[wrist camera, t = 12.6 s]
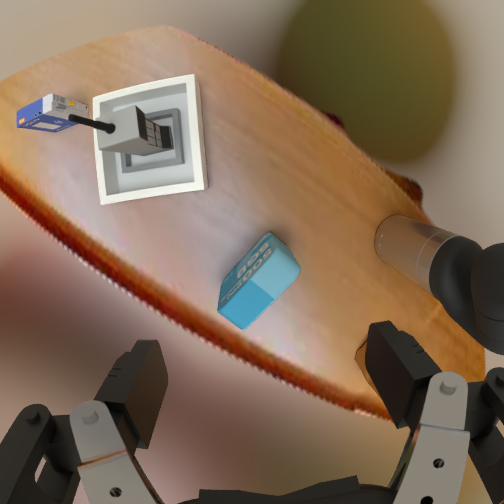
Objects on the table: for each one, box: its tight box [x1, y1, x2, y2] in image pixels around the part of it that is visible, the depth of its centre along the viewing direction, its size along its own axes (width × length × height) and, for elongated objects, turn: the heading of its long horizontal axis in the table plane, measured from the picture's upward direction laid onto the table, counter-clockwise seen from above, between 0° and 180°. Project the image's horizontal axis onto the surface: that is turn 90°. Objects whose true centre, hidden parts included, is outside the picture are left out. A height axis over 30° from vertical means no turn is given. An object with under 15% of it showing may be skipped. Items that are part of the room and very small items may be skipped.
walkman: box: [17, 94, 89, 132], centre depth 35 cm, size 8×3×12 cm, turn 97°
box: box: [93, 74, 209, 205], centre depth 40 cm, size 16×17×6 cm
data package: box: [217, 232, 301, 330], centre depth 43 cm, size 12×4×12 cm, turn 138°
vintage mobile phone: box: [68, 105, 174, 156], centre depth 30 cm, size 4×5×25 cm
